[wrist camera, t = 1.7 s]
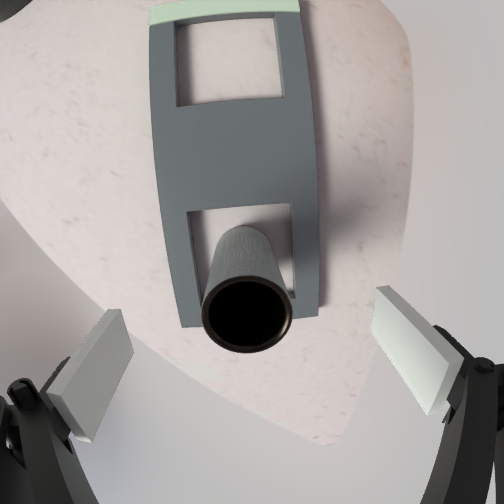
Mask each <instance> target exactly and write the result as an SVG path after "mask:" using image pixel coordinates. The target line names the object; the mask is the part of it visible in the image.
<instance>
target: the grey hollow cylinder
mask: <svg viewBox="0 0 504 504" xmlns="http://www.w3.org/2000/svg"><path fill="white" fill-rule="evenodd" d="M292 318H293V308H292V304H291V300H290V297H289V295H288V292H287V289H286V286H285V284H284V281H283V278H282V275H281V273H280V270H279V267H278V264H277V262H276V259H275V256H274V253H273V251H272V248H271V245H270V243H269V241H268V240H267V238H266V237H265V235H264V234H263V233H261V232H260V231H259V230H257V229H255V228H252V227H247V226H240V227H235V228H233V229H230V230H229V231H227V232H226V233H225V234H224V235H223V236H222V237H221V238H220V240H219V242H218V244H217V246H216V250H215V254H214V258H213V262H212V266H211V270H210V274H209V278H208V282H207V286H206V290H205V295H204V299H203V303H202V308H201V321H202V324H203V327H204V329H205V331H206V333H207V335H208V336H209V337H210V338H211V339H212V340H213V341H214V342H215V343H216V344H218V345H219V346H221V347H222V348H224V349H227V350H229V351H232V352H237V353H256V352H260V351H264V350H266V349H268V348H270V347H272V346H274V345H275V344H277V343H278V342H279V341H280V340H281V339H282V338H283V337H284V336H285V335H286V333H287V332H288V330H289V328H290V326H291V323H292Z"/></svg>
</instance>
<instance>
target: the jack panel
mask: <svg viewBox="0 0 504 504" xmlns="http://www.w3.org/2000/svg"><path fill="white" fill-rule="evenodd" d="M251 18H273V20H274V28H275V35H276V44H277V52H278V61H279V70H280V79H281V89H282V98H265V99H247V100H234V101H223V102H214V103H205V104H197V105H190V106H184V107H179V92H178V71H177V34H176V27H178V26H184V25H190V24H196V23H204V22H212V21H221V20H233V19H251ZM149 26H150V28H149V80H150V106H151V123H152V137H153V149H154V160H155V170H156V179H157V188H158V196H159V204H160V211H161V218H162V225H163V232H164V238H165V244H166V250H167V256H168V262H169V268H170V273H171V278H172V284H173V289H174V294H175V298H176V303H177V308H178V313H179V317H180V322H181V326H182V328H188V327H203V324H202V321H201V308H202V303H203V300H202V297H201V291H200V285H199V279H198V272H197V266H196V259H195V252H194V245H193V238H192V230H191V223H190V215H189V211H198V210H208V209H218V208H229V207H240V206H251V205H264V204H277V203H290V212H291V234H292V261H293V292H291V293H288V295H289V297H290V300H291V304H292V308H293V318H292V319H298V318H306V317H314V316H318V309H319V207H318V181H317V162H316V147H315V133H314V121H313V110H312V100H311V90H310V81H309V73H308V65H307V57H306V50H305V43H304V36H303V30H302V23H301V17H300V8H299V2H298V0H184V1H178V2H173V3H168V4H163V5H159V6H154V7H150V10H149Z"/></svg>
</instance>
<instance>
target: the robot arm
mask: <svg viewBox="0 0 504 504" xmlns="http://www.w3.org/2000/svg"><path fill="white" fill-rule="evenodd" d="M29 1H31V0H0V22H2V21H4V20H6V19H8V18H9V17H11V16H12V15H14V14H15V13H16V12H18V11H19V10H20V9H21V8H23V7H24V6H25V5H26V4H27V3H28V2H29ZM371 333H372V335H373V336H374V338H375V339H376V341H377V342H378V343H379V345H380V346H381V348H382V349H383V351H384V352H385V353H386V355H387V356H388V357H389V359H390V361H391V362H392V364H393V365H394V366H395V368H396V369H397V371H398V372H399V374H400V375H401V377H402V378H403V380H404V381H405V383H406V384H407V386H408V387H409V389H410V390H411V392H412V393H413V395H414V396H415V398H416V399H417V401H418V402H419V404H420V405H421V407H422V409H423V410H424V412H425V413H426V415H427V416H428V415H431V414H433V413H436V412H438V411H440V410H442V408H443V406H444V404H445V402H446V400H447V401H448V402H449V403H450V405H451V406H450V408H449V410H448V412H447V413H446V415H445V417H444V419H443V421H442V423H444V422H445V420H446V423H445V427H444V431H443V435H442V440H441V444H440V447H439V451H438V454H437V457H436V461H435V464H434V467H433V470H432V473H431V476H430V479H429V482H428V485H427V487H426V490H425V493H424V495H423V498H422V500H421V503H420V504H485V503H486V499H487V494H488V490H489V485H490V480H491V474H492V468H493V462H494V467H495V482H496V504H504V364H498V365H495V364H494V363H493V362H492V361H491V360H489V359H487V358H484V357H477V358H474V357H473V356H472V355H471V354H470V353H469V352H468V351H467V350H466V349H465V348H464V347H463V346H462V345H461V344H460V343H459V342H457V340H456V339H455V338H454V337H452V336H451V335H450V334H449V333H448V332H447V331H446V330H445V329H443V328H441V327H439V326H437V325H435V326H431V324H430V323H429V322H427V321H426V320H425V319H424V318H423V317H422V316H421V315H420V314H419V313H418V312H417V311H416V310H415V309H414V308H413V307H411V305H410V304H408V303H407V302H406V301H405V300H404V299H403V298H402V297H401V296H400V295H399V294H397V293H396V292H395V291H394V290H393V289H392V288H391V287H390V286H389V285H388V286H382V287H376V293H375V302H374V311H373V319H372V326H371ZM133 353H134V351H133V348H132V344H131V341H130V338H129V335H128V332H127V329H126V326H125V322H124V319H123V316H122V312H121V309H108V310H107V311H106V313H105V314H104V315H103V316H102V318H101V319H100V320H99V321H98V323H97V324H96V325H95V326H94V328H93V329H92V330H91V332H90V333H89V334H88V335H87V337H86V338H85V339H84V340H83V342H82V343H81V344H80V346H79V347H78V348H77V350H76V351H75V352H74V354H73V355H72V356H71V357H68V358H66V359H65V360H63V361H62V362H61V363H60V364H59V366H58V367H57V368H56V371H54V372H53V374H52V377H50V378H49V379H48V381H47V382H46V383H45V385H44V386H43V388H42V389H41V390H40V392H39V393H38V391H37V389H36V388H35V386H34V384H33V383H32V381H31V380H30V379H27V378H21V379H18V380H16V381H14V382H13V383H12V384H11V385H10V386H9V388H8V390H7V394H8V395H9V397H10V398H11V400H12V401H13V403H14V405H8V403H7V402H6V400H5V399H4V397H2V396H0V504H99V503H98V501H97V499H96V497H95V495H94V493H93V491H92V489H91V487H90V485H89V483H88V481H87V478H86V476H85V474H84V472H83V469H82V467H81V465H80V462H79V460H78V457H77V455H76V452H75V449H74V447H73V444H72V441H71V440H70V439H69V437H68V436H69V433H70V431H72V433H73V434H74V436H75V437H76V438H77V439H78V440H82V441H86V442H91V443H92V442H93V439H94V437H95V435H96V432H97V430H98V428H99V426H100V423H101V421H102V419H103V417H104V414H105V412H106V410H107V408H108V406H109V403H110V401H111V399H112V397H113V394H114V393H115V391H116V388H117V386H118V384H119V382H120V380H121V378H122V375H123V374H124V372H125V369H126V368H127V366H128V364H129V362H130V360H131V358H132V356H133ZM6 440H7V441H8V443H9V448H7V446H6Z"/></svg>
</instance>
